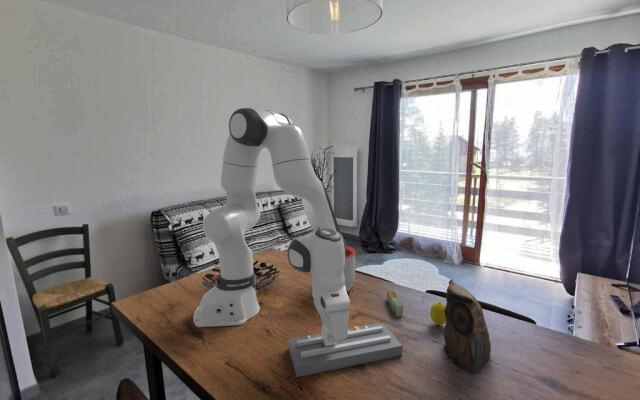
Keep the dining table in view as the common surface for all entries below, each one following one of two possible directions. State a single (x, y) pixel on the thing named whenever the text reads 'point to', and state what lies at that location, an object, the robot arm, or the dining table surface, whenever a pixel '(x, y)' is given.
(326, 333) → the fader
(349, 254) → the citrus juicer
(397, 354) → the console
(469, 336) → the owl
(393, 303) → the medication box
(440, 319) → the lemon
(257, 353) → the dining table surface
